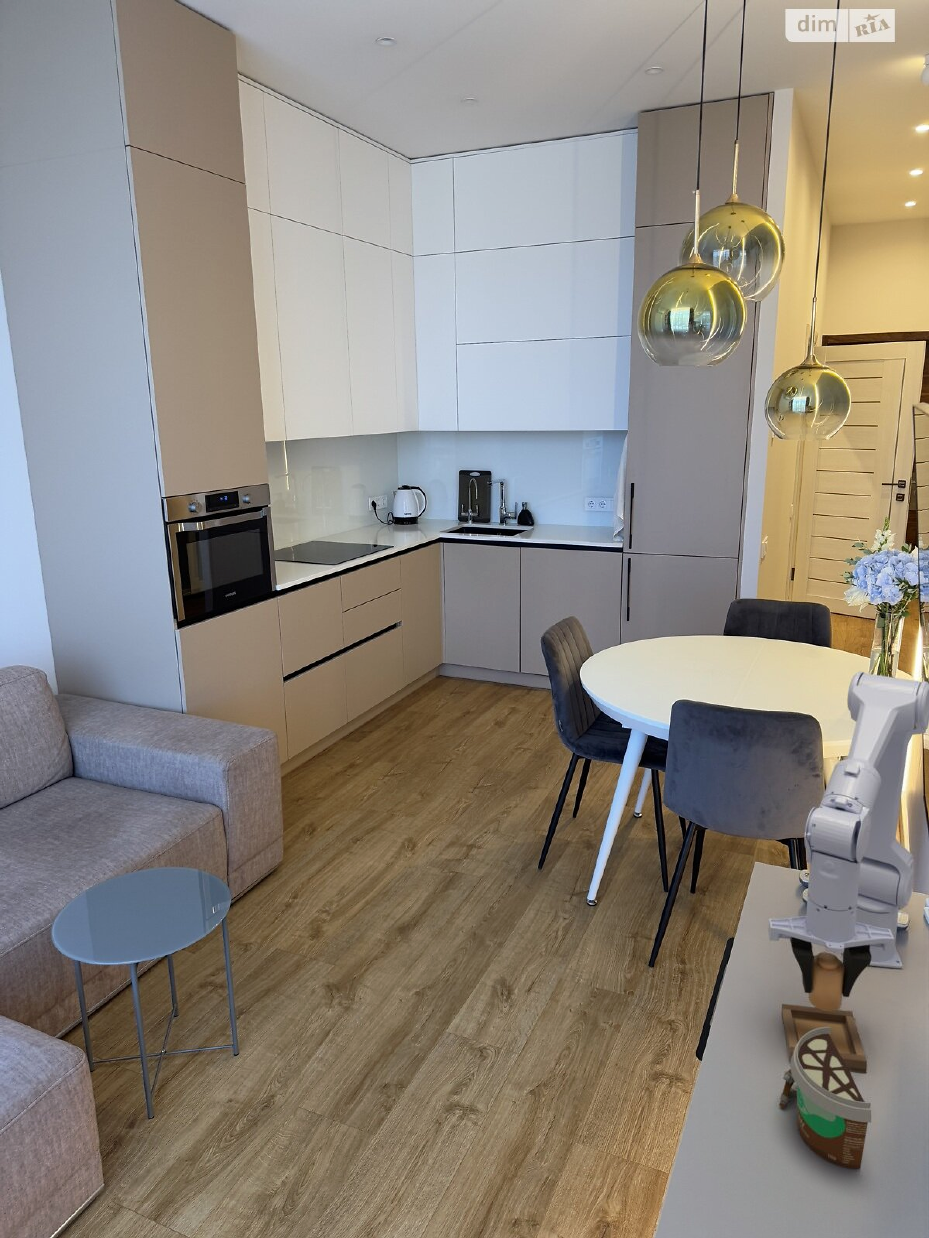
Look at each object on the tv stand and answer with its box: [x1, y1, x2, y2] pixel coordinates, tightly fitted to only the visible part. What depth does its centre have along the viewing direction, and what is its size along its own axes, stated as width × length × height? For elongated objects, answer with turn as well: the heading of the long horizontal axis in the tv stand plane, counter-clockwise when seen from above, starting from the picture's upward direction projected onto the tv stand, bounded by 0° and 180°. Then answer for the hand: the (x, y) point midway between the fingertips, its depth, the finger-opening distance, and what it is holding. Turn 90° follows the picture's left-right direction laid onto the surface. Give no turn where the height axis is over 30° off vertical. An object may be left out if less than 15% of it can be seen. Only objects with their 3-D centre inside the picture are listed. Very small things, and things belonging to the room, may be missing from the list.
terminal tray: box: [781, 1003, 868, 1074], centre depth 112 cm, size 9×9×2 cm
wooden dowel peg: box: [807, 951, 844, 1011], centre depth 110 cm, size 4×4×6 cm
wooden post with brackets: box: [779, 1068, 797, 1109], centre depth 104 cm, size 2×8×4 cm, turn 132°
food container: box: [789, 1027, 872, 1170], centre depth 97 cm, size 12×6×10 cm, turn 178°
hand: (825, 989), depth 110 cm, fingers closed on wooden dowel peg, 4 cm apart
